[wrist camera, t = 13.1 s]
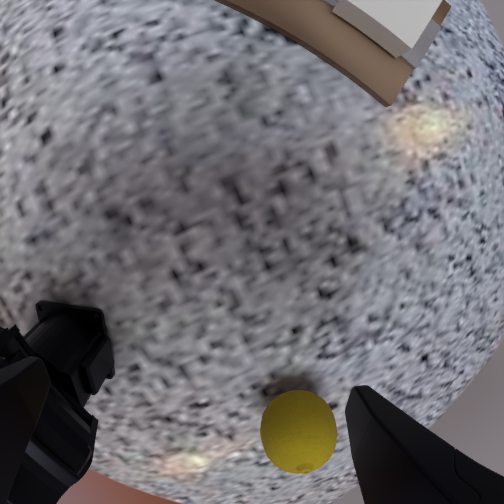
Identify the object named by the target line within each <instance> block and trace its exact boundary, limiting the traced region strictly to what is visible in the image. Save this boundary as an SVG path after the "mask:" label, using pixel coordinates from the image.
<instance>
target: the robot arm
mask: <svg viewBox="0 0 504 504" xmlns="http://www.w3.org/2000/svg"><path fill="white" fill-rule="evenodd" d="M41 307H42V308H41ZM36 311H37V315H38V319H39V322H38V323H37V324H36V325H35V326H34V327H33V328H32V329H31V330H30V331H29V332H28V333H27V334H25V335H24V336H22V335H21V334H20V330H19V329H18V327H17V326H16V324H15V325H14V326H13V327H12V328H11V329H10V330H9V329H8V328H6V329H4V328H2V327H0V504H56V503H57V502H58V500H59V499H60V498H61V496H62V495H63V494H64V493H65V492H66V491H67V490H68V489H69V487H70V486H72V485H73V484H75V483H76V482H78V481H79V480H80V479H81V478H82V477H83V476H84V474H85V473H86V472H87V470H88V469H89V467H90V465H91V462H92V459H93V452H94V445H95V438H96V431H97V425H98V420H97V419H96V418H95V417H94V416H93V415H90V414H89V413H88V412H87V411H86V410H85V409H84V406H85V404H86V402H87V401H88V399H89V397H90V395H91V394H92V395H96V394H97V393H98V391H99V389H100V387H101V385H102V384H103V382H104V380H105V378H107V379H112V378H113V377H114V375H115V372H114V367H113V364H114V360H113V355H112V350H111V345H110V340H109V337H108V336H107V333H106V328H105V322H104V316H103V313H102V311H101V310H99V309H96V308H88V307H80V306H73V305H66V304H59V303H53V302H46V301H39V302H38V303H37V304H36ZM95 314H97V315H98V317H99V318H98V317H96V316H95ZM109 373H110V374H109ZM345 415H346V421H347V428H348V434H349V440H350V447H351V454H352V459H353V463H354V467H355V470H356V474H357V478H358V481H359V485H360V488H361V492H362V496H363V500H364V503H365V504H504V477H503V476H502V475H500V474H498V473H496V472H494V471H492V470H490V469H488V468H486V467H484V466H483V465H481V464H479V463H477V462H476V461H474V460H473V459H471V458H469V457H468V456H466V455H465V454H463V453H462V452H460V451H459V450H457V449H455V448H454V447H453V446H451V445H450V444H448V443H447V442H446V441H444V440H443V439H441V438H440V437H438V436H437V435H436V434H434V433H433V432H431V431H430V430H429V429H427V428H426V427H424V426H423V425H421V424H420V423H419V422H417V421H416V420H414V419H413V418H412V417H410V416H409V415H407V414H406V413H405V412H403V411H402V410H401V409H399V408H398V407H396V406H395V405H394V404H392V403H391V402H390V401H388V400H387V399H385V398H384V397H383V396H381V395H380V394H379V393H377V392H376V391H375V390H373V389H372V388H371V387H369V386H367V385H362V386H354V387H353V388H352V390H351V393H350V396H349V399H348V402H347V405H346V409H345Z"/></svg>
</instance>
